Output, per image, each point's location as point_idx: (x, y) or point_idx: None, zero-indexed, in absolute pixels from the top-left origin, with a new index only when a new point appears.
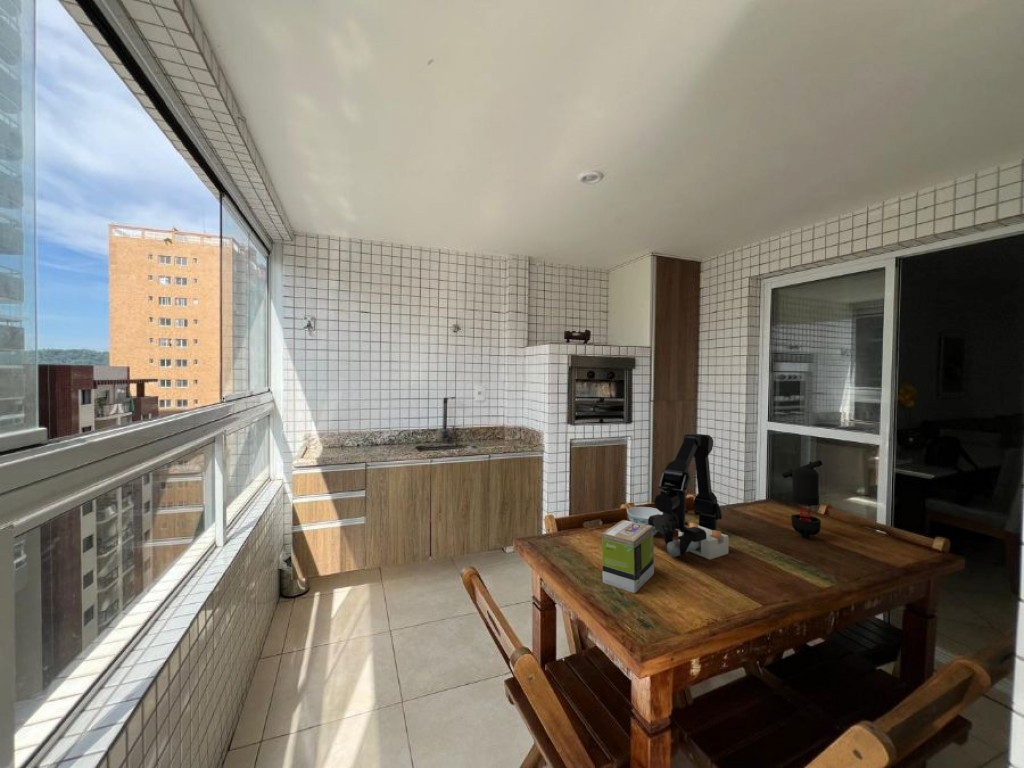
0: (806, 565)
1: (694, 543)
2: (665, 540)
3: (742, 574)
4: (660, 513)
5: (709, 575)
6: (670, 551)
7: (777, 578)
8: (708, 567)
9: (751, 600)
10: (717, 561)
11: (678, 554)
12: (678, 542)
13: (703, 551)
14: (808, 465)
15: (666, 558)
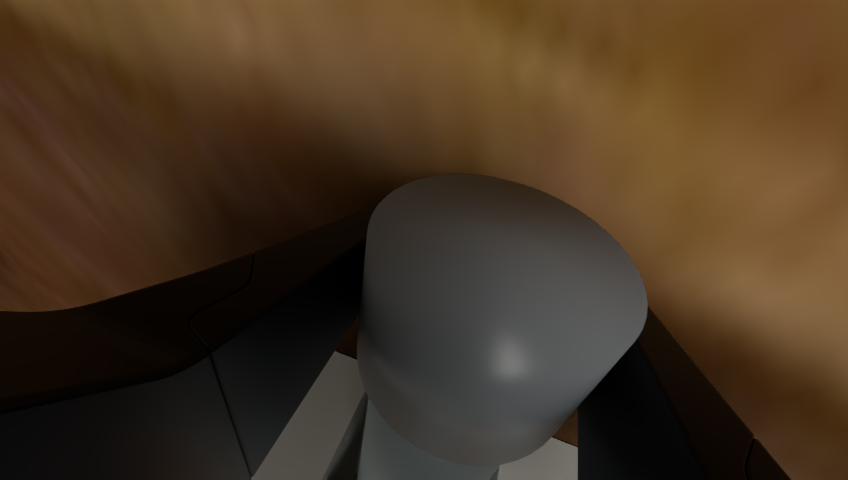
0: None
1: (361, 461)
2: (721, 425)
3: (91, 245)
4: None
5: (84, 47)
6: (557, 227)
7: (47, 295)
8: (217, 213)
9: None
10: None
11: (408, 193)
12: (402, 396)
13: (334, 398)
14: None
15: (609, 127)
